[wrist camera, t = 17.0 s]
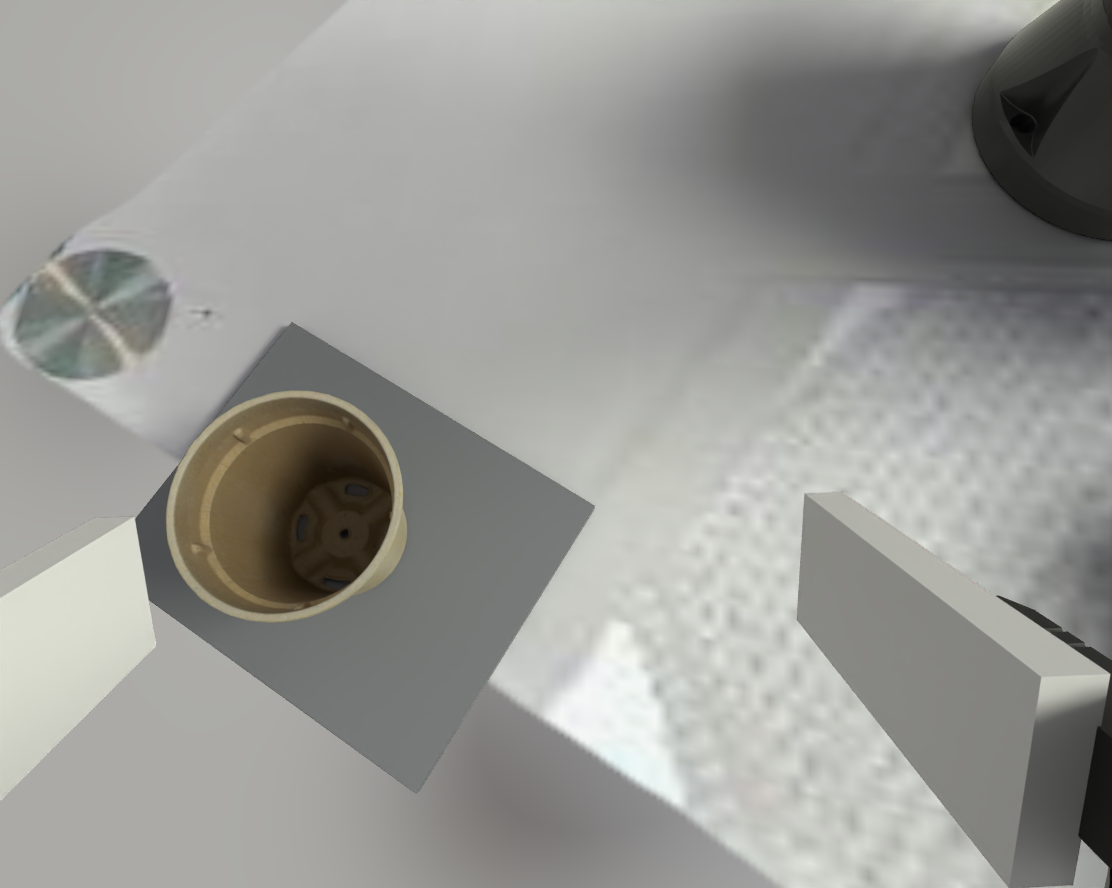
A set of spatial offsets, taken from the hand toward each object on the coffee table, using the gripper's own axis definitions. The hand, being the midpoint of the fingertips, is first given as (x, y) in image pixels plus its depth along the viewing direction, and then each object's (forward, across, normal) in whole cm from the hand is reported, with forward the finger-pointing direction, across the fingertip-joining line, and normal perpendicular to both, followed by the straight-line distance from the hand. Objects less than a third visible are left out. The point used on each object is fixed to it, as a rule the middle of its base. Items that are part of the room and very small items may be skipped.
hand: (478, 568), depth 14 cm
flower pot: (+22, -8, -7) cm, 24 cm away
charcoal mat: (+22, -8, -8) cm, 25 cm away
